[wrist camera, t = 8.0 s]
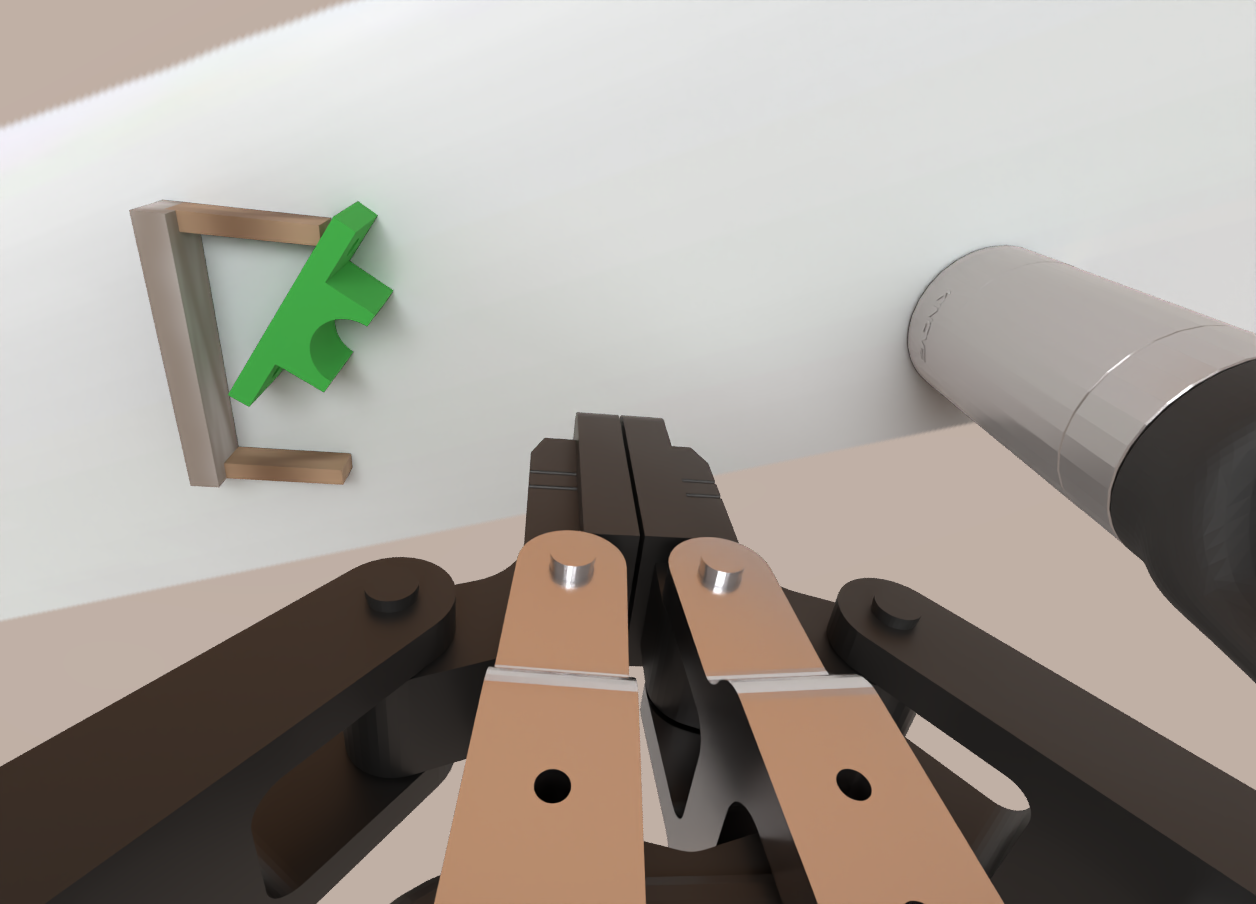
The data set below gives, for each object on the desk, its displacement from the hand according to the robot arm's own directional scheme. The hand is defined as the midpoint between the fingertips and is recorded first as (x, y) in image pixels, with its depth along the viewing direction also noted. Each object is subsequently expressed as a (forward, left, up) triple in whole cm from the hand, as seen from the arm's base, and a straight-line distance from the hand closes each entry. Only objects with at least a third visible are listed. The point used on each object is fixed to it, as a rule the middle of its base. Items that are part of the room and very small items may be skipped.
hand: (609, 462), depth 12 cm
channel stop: (+16, +10, -27) cm, 33 cm away
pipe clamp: (+13, +7, -27) cm, 31 cm away
